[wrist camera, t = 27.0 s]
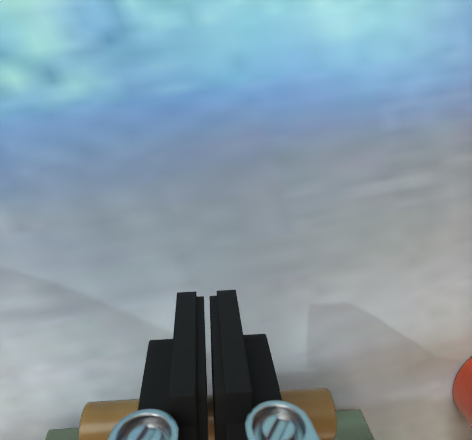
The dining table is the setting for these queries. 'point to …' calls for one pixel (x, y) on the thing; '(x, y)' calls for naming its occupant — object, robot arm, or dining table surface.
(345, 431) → the drawer
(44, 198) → the dining table surface
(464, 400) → the tin
